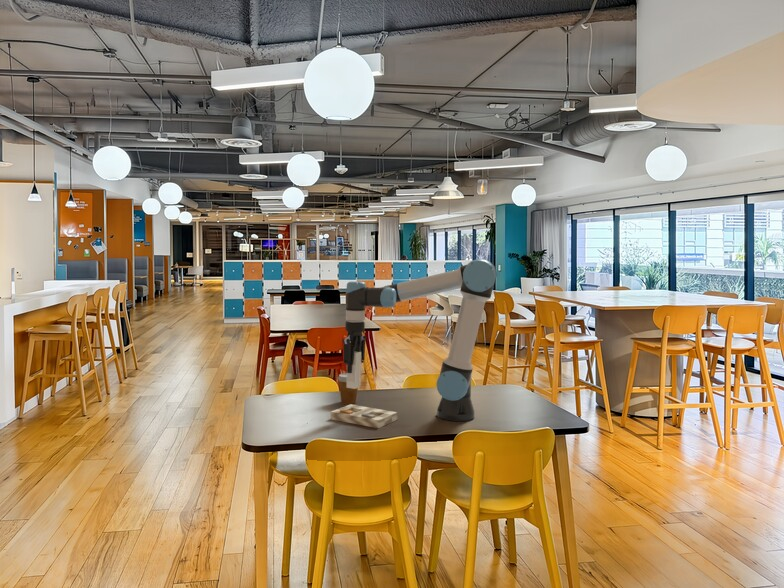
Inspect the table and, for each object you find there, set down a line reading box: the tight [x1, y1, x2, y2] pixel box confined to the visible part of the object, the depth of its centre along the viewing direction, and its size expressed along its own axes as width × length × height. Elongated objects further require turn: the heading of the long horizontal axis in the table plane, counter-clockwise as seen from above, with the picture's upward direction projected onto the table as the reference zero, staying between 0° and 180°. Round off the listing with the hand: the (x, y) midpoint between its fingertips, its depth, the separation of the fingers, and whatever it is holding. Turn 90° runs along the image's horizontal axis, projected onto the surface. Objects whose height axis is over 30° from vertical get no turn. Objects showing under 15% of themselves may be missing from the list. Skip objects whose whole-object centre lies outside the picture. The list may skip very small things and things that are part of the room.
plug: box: [346, 351, 362, 389], centre depth 244 cm, size 4×4×14 cm
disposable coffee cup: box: [337, 372, 359, 405], centre depth 269 cm, size 10×10×12 cm
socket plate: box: [330, 404, 398, 429], centre depth 242 cm, size 22×14×4 cm, turn 60°
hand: (353, 379), depth 244 cm, fingers closed on plug, 4 cm apart
